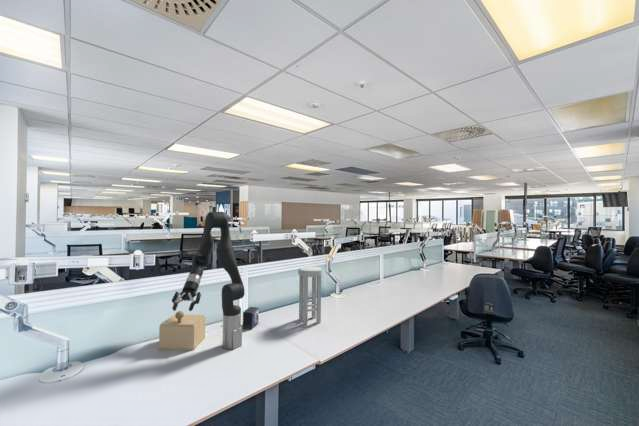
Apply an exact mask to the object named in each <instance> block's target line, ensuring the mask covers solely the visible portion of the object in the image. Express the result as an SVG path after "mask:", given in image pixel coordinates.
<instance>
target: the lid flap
mask: <svg viewBox="0 0 639 426" xmlns="http://www.w3.org/2000/svg"><path fill="white" fill-rule="evenodd" d="M204 317H205V318H206V316H205V314H184V311H181V310H179V311H176V313H175V314H173V315H172V316H170V317H169V318H167V319H166V320H163V321H162V322H161V323H160V325H159V326H195V325H196V324H197V323H198V322H199V321H200V320H201V319H203V318H204Z"/></svg>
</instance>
